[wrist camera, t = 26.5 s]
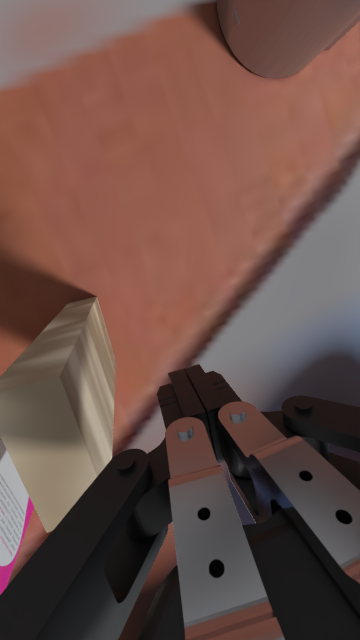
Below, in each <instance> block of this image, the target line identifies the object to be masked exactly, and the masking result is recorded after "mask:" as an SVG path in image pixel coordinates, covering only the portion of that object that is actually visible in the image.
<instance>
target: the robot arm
mask: <svg viewBox="0 0 360 640" xmlns="http://www.w3.org/2000/svg"><path fill="white" fill-rule="evenodd" d="M217 12H218V17H219V22H220V27H221V29H222V32H223V34H224V37H225V40H226V42H227V44H228V45H229V47H230V49H231V50H232V52H233V54H234V55H235V56H236V58H237V59H238V60H239V61H240V62H241V63H242V64H243V65H244V66H245V67H246V68H248V69H249V70H251V71H252V72H253V73H255V74H258V75H260V76H263V77H265V78H273V79H279V78H285V77H289V76H291V75H293V74H296V73H298V72H299V71H300V70H302V69H303V68H304V67H306V66H307V65H308V64H309V63H310V62H311V61H312V60H313V59H314V58H315V57H316V56H317V55H318V54H319V53H320V52H321V51H322V50H327V49H330V48H331V47H332V46H333V45H335V44H336V43H337V42H338V41H339V40H340V39H341V38H342V37H343V36H344V35H345V34H346V33H347V32H348V31H349V30H350V29H352V28H353V27H354V26H355V25H356V24H357V23H358V22H359V21H360V0H217ZM168 376H169V380H170V384H167V385H164V386H161V387H160V388H159V390H158V393H157V396H158V400H159V404H160V408H161V412H162V416H163V420H164V424H165V427H166V432H165V438H164V440H163V442H162V443H161V444H160V445H159V446H158V447H157V448H155V449H154V450H152V451H151V452H149V453H148V454H146V453H145V452H144V451H143V450H140V449H129V450H125V451H123V452H121V453H119V454H117V455H116V456H115V457H113V458H112V459H111V460H110V462H109V463H108V464H107V465H106V466H105V468H104V469H103V470H102V471H101V473H100V474H99V475H98V476H97V477H96V479H95V480H94V481H93V482H92V484H91V485H90V486H89V487H88V488H87V490H86V491H85V492H84V493H83V495H82V496H81V497H80V498H79V499H78V501H77V502H76V503H75V504H74V506H73V507H72V508H71V509H70V510H69V512H68V513H67V514H66V515H65V517H64V518H63V519H62V520H61V521H60V523H59V524H58V525H57V526H56V528H55V529H54V530H53V531H52V532H51V534H50V535H49V536H48V537H47V539H46V540H45V541H44V542H43V543H42V545H41V546H40V547H39V548H38V550H37V551H36V552H35V553H34V554H33V556H32V557H31V558H30V559H29V561H28V562H27V563H26V564H25V565H24V567H23V568H22V569H21V570H20V572H19V573H18V574H17V575H16V576H15V578H14V579H13V580H12V581H11V583H10V584H9V585H8V586H7V587H6V589H5V590H4V591H3V592H2V594H1V595H0V640H118V638H119V636H120V634H121V632H122V630H123V628H124V625H125V623H126V621H127V619H128V617H129V615H130V612H131V610H132V608H133V606H134V604H135V602H136V600H137V597H138V595H139V593H140V591H141V589H142V587H143V584H144V582H145V580H146V578H147V576H148V574H149V572H150V569H151V567H152V565H153V563H154V561H155V559H156V557H157V554H158V552H159V550H160V548H161V546H162V544H163V541H164V539H165V537H166V535H167V531H168V524H170V523H171V522H172V521H173V528H174V538H175V547H176V556H177V566H175V567H174V569H173V570H172V571H171V572H170V573H169V575H168V576H167V577H166V579H165V580H164V582H163V583H162V585H161V586H160V588H159V590H158V591H157V594H156V595H155V597H154V599H153V601H152V604H151V606H150V608H149V611H148V614H147V616H146V619H145V621H144V624H143V626H142V629H141V632H140V634H139V636H138V639H137V640H360V462H357V461H354V460H351V459H348V458H345V457H342V456H339V455H336V454H333V453H330V452H329V446H328V445H329V443H331V444H334V445H337V446H340V447H344V448H347V449H350V450H354V451H357V452H360V407H356V406H351V405H347V404H342V403H337V402H333V401H328V400H323V399H318V398H314V397H309V396H294V397H291V398H288V399H286V400H285V401H284V402H283V404H282V411H273V412H260V411H258V409H257V408H256V407H255V406H253V405H252V404H250V403H247V402H242V401H241V399H240V398H239V397H238V396H237V395H236V393H235V392H234V391H233V389H232V388H231V387H230V386H229V384H228V383H227V382H226V380H225V379H224V378H223V377H222V375H221V374H218V373H216V372H214V371H211V372H208V373H205V372H204V370H203V369H202V368H201V366H200V365H199V364H198V365H194V366H191V367H187V368H184V369H181V370H177V371H174V372H170V373H168ZM224 461H225V462H226V464H227V466H228V470H229V475H230V479H231V481H232V483H233V485H234V486H235V488H236V490H237V491H238V493H239V495H240V497H241V498H242V500H243V502H244V503H245V505H246V507H247V509H248V510H249V512H250V514H251V515H252V517H253V519H254V521H255V522H256V524H250V525H242V524H241V521H240V519H239V516H238V513H237V510H236V507H235V504H234V501H233V499H232V496H231V493H230V490H229V487H228V485H227V482H226V479H225V476H224V473H223V471H222V468H221V466H220V465H218V463H221V462H224ZM217 462H218V463H217Z"/></svg>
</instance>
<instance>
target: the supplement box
mask: <svg viewBox="0 0 360 640" xmlns="http://www.w3.org/2000/svg"><path fill="white" fill-rule="evenodd" d="M33 508H34V505H33V503H32V501H31V499H30V497H29V495H28V493H27V491H26V489H25V487H24V485H23V482H22V480H21V478H20V476H19V474H18V472H17V470H16V468H15V466H14V464H13V462H12V460H11V458H10V456H9V453H8V451H7V449H6V447H5V445H4V443H3V441H2V439H1V437H0V595H1V594H2V592H3V591H4V590H5V589H6V587H7V584H8V581H9V578H10V575H11V572H12V569H13V566H14V563H15V560H16V558H17V555H18V552H19V549H20V546H21V543H22V540H23V537H24V534H25V531H26V528H27V526H28V523H29V520H30V517H31V514H32V511H33Z"/></svg>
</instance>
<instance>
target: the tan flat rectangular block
mask: <svg viewBox="0 0 360 640" xmlns="http://www.w3.org/2000/svg"><path fill="white" fill-rule="evenodd" d="M115 369H116V359H115V355H114V352H113V349H112V345H111V342H110V339H109V335H108V332H107V329H106V325H105V322H104V318H103V315H102V312H101V308H100V305H99V302H98V298H97V297H93V298H88V299H84V300H80V301H75V302H71V303H68V304H67V305H66V306H65V307H64V308H63V309H62V310H61V311H60V313H59V314H58V315H57V316H56V317H55V318H54V319H53V320H52V321H51V322H50V323H49V324H48V326H47V327H46V328H45V329H44V330H43V331H42V332H41V333H40V334H39V335H38V336H37V338H36V339H35V340H34V341H33V342H32V343H31V344H30V345H29V346H28V347H27V348H26V350H25V351H24V352H23V353H22V354H21V355H20V356H19V357H18V358H17V359H16V360H15V362H14V363H13V364H12V365H11V366H10V367H9V368H8V369H7V370H6V371H5V372H4V374H3V375H2V376H1V377H0V437H1V439H2V441H3V443H4V445H5V447H6V449H7V451H8V453H9V456H10V458H11V460H12V462H13V464H14V466H15V468H16V470H17V472H18V474H19V476H20V478H21V480H22V482H23V485H24V487H25V489H26V491H27V493H28V495H29V497H30V499H31V501H32V503H33V505H34V507H35V509H36V512H37V514H38V516H39V518H40V520H41V522H42V524H43V526H44V528H45V530H46V532H50V531H53V530H54V529H55V528H56V526H57V525H58V524H59V523H60V521H61V520H62V519H63V518H64V517H65V515H66V514H67V513H68V512H69V510H70V509H71V508H72V507H73V506H74V504H75V503H76V502H77V501H78V499H79V498H80V497H81V496H82V495H83V493H84V492H85V491H86V490H87V488H88V487H89V486H90V485H91V484H92V482H93V481H94V480H95V479H96V477H97V476H98V475H99V474H100V473H101V471H102V470H103V469H104V468H105V466H106V465H107V464H108V463H109V462H110V460H111V459H112V444H113V419H114V394H115Z"/></svg>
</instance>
